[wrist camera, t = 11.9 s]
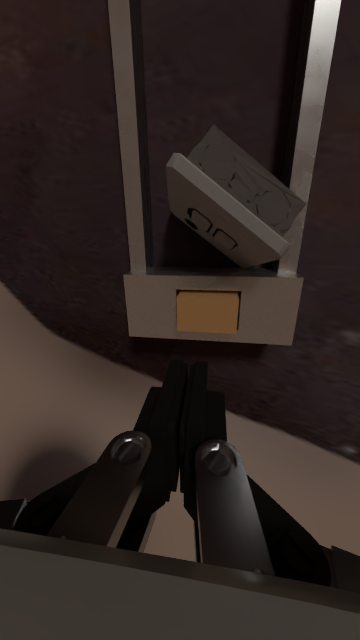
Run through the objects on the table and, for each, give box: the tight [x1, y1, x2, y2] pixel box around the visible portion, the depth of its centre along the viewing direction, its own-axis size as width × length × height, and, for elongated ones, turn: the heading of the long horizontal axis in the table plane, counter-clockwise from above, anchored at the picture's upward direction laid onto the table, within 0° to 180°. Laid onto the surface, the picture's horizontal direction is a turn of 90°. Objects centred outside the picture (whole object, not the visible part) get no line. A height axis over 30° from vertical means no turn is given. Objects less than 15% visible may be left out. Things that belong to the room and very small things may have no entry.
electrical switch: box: [166, 125, 306, 269], centre depth 18 cm, size 9×5×9 cm, turn 54°
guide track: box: [108, 0, 341, 345], centre depth 17 cm, size 15×40×5 cm, turn 1°
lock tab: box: [177, 290, 239, 334], centre depth 21 cm, size 5×3×4 cm, turn 91°
